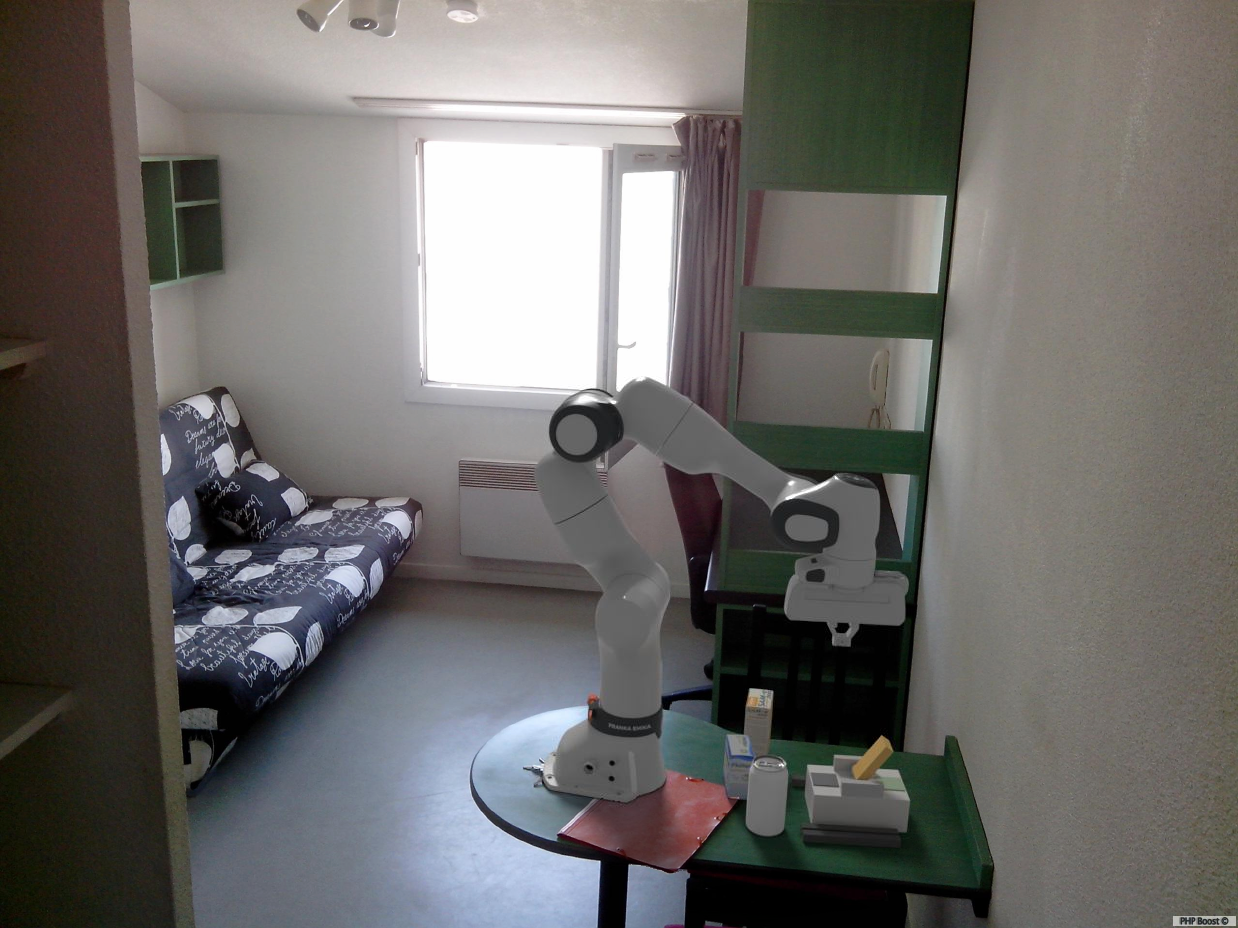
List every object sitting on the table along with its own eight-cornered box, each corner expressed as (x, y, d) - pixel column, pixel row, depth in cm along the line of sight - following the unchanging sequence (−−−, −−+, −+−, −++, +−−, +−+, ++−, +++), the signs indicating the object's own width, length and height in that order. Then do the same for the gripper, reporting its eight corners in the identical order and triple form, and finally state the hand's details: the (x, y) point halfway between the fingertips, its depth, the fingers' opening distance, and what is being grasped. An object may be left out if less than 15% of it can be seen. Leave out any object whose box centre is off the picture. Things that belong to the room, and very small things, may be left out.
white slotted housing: (811, 826, 179) (815, 781, 177) (804, 794, 188) (808, 752, 186) (906, 832, 178) (911, 787, 176) (894, 800, 188) (899, 757, 186)
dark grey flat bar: (802, 841, 174) (803, 834, 174) (800, 829, 177) (801, 822, 177) (900, 847, 173) (901, 840, 173) (896, 835, 177) (897, 828, 176)
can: (783, 840, 174) (789, 774, 172) (744, 835, 175) (749, 770, 173) (784, 818, 181) (789, 755, 178) (746, 814, 182) (751, 751, 179)
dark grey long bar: (791, 785, 191) (792, 778, 191) (791, 781, 192) (791, 774, 192) (880, 791, 190) (881, 784, 190) (879, 787, 192) (879, 780, 191)
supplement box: (766, 773, 195) (771, 709, 192) (740, 770, 196) (745, 705, 193) (769, 752, 203) (774, 689, 200) (744, 749, 204) (748, 686, 201)
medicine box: (722, 776, 194) (725, 733, 192) (746, 776, 194) (749, 734, 192) (727, 799, 186) (730, 755, 184) (752, 800, 186) (755, 755, 184)
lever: (853, 785, 179) (887, 748, 177) (848, 769, 184) (880, 732, 182) (861, 791, 179) (894, 754, 177) (855, 774, 184) (888, 737, 182)
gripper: (905, 565, 181) (898, 640, 184) (786, 559, 182) (780, 634, 185) (914, 578, 175) (905, 655, 178) (790, 571, 175) (784, 648, 179)
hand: (841, 644), depth 181 cm, fingers closed
